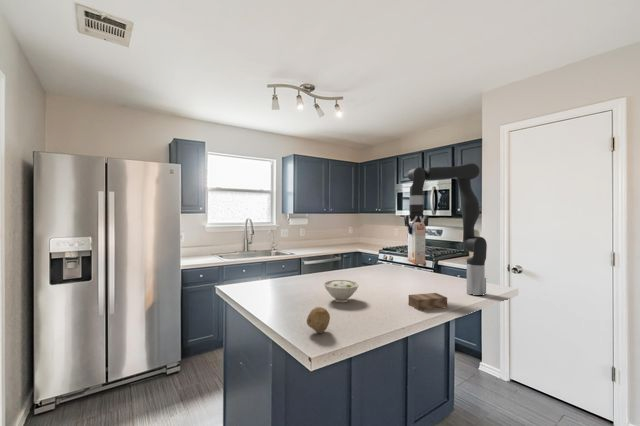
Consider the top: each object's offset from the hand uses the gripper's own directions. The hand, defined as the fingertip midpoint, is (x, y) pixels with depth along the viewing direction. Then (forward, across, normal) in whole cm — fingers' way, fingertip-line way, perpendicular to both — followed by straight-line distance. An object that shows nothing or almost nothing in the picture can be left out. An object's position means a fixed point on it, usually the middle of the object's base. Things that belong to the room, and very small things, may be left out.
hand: (416, 234), depth 164 cm
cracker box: (+16, 0, 0) cm, 16 cm away
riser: (+35, +3, +15) cm, 38 cm away
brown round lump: (+35, +64, +34) cm, 81 cm away
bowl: (+35, +42, -5) cm, 55 cm away
